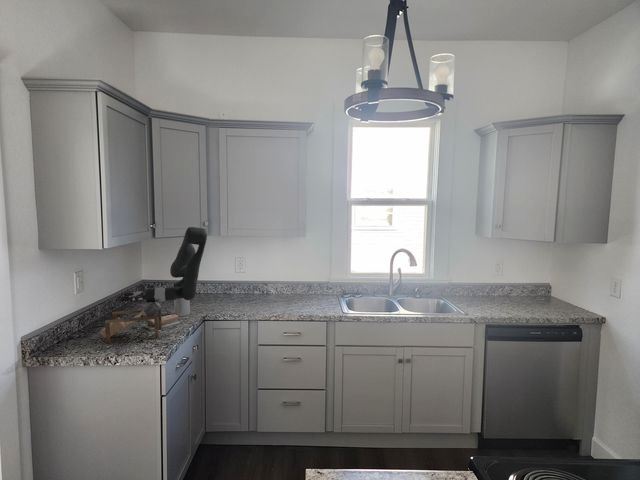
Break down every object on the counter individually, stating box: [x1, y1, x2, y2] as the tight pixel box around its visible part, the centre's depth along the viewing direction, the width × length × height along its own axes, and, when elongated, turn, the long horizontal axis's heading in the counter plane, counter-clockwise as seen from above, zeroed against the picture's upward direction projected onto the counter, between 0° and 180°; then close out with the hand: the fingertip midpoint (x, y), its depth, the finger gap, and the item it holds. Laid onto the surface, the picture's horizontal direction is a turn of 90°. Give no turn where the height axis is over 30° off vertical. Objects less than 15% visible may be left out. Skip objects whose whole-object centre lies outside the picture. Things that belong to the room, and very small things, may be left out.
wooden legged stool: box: [104, 307, 163, 345], centre depth 193 cm, size 17×24×12 cm
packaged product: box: [143, 313, 182, 331], centre depth 211 cm, size 18×5×10 cm
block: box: [99, 316, 126, 339], centre depth 189 cm, size 5×5×10 cm
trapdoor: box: [120, 302, 162, 332], centre depth 193 cm, size 13×19×4 cm
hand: (122, 297), depth 190 cm, fingers open, 8 cm apart
